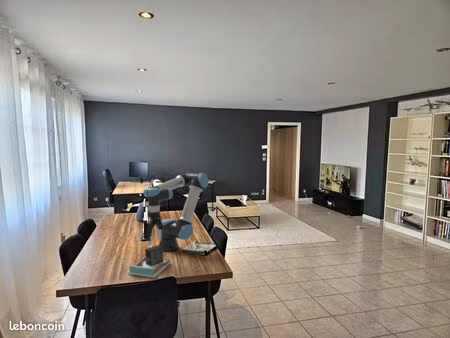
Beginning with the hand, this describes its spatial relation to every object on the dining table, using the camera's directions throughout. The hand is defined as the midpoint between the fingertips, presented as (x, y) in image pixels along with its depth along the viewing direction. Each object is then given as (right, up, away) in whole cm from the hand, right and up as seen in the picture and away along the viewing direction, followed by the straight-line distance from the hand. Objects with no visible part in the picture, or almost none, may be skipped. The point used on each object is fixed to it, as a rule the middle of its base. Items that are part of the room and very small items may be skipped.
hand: (154, 241), depth 191 cm
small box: (0, -15, +1) cm, 15 cm away
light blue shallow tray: (-2, -16, -5) cm, 17 cm away
